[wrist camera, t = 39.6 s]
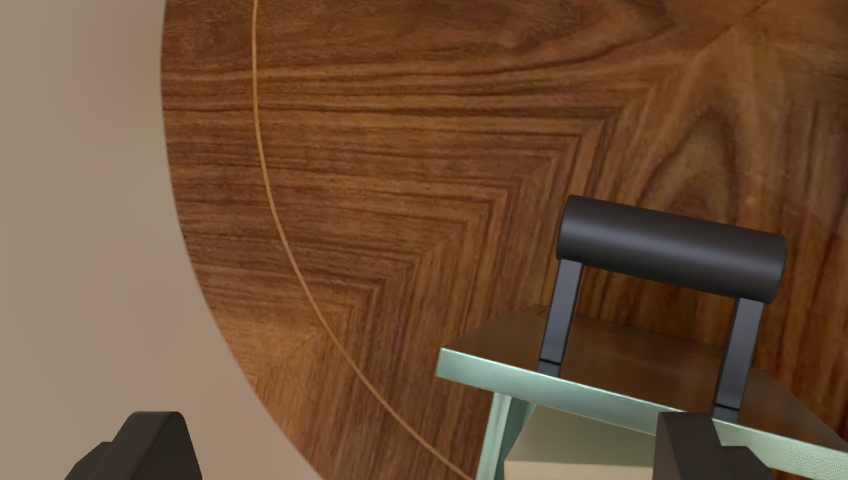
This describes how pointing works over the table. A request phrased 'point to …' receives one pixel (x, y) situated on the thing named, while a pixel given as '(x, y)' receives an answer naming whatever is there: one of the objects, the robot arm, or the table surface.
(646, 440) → the carton
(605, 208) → the lid
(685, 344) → the green storage bin
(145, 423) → the robot arm
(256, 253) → the table surface
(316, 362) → the table surface
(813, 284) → the table surface
